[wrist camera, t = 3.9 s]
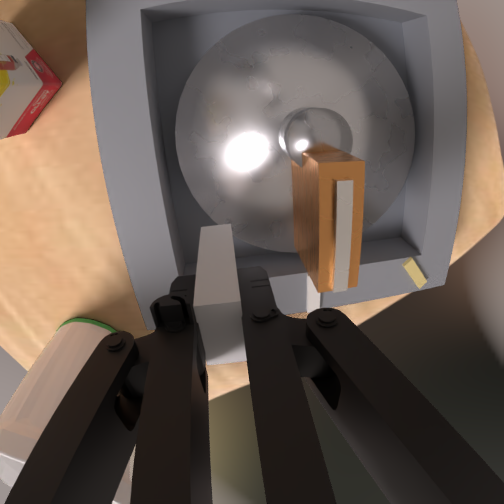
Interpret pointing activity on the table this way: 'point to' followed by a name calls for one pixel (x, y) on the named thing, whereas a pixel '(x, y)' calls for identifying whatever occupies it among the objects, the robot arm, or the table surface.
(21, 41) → the ink box
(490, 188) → the table surface
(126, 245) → the housing
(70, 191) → the table surface
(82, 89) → the table surface
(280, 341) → the robot arm
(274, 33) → the dial
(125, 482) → the cup
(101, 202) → the table surface
